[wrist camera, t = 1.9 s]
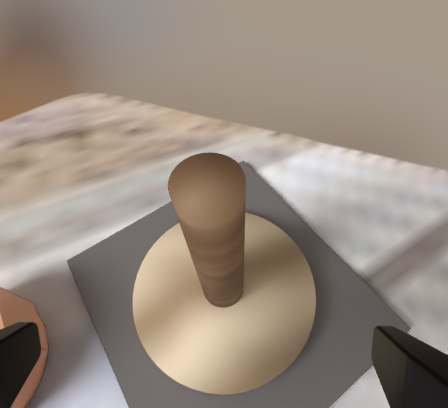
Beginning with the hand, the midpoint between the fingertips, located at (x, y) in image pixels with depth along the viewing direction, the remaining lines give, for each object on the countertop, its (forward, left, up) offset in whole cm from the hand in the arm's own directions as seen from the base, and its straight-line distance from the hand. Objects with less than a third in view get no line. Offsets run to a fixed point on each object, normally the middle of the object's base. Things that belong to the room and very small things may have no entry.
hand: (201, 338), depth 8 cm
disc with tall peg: (+4, -3, -11) cm, 12 cm away
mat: (+4, -3, -12) cm, 13 cm away
